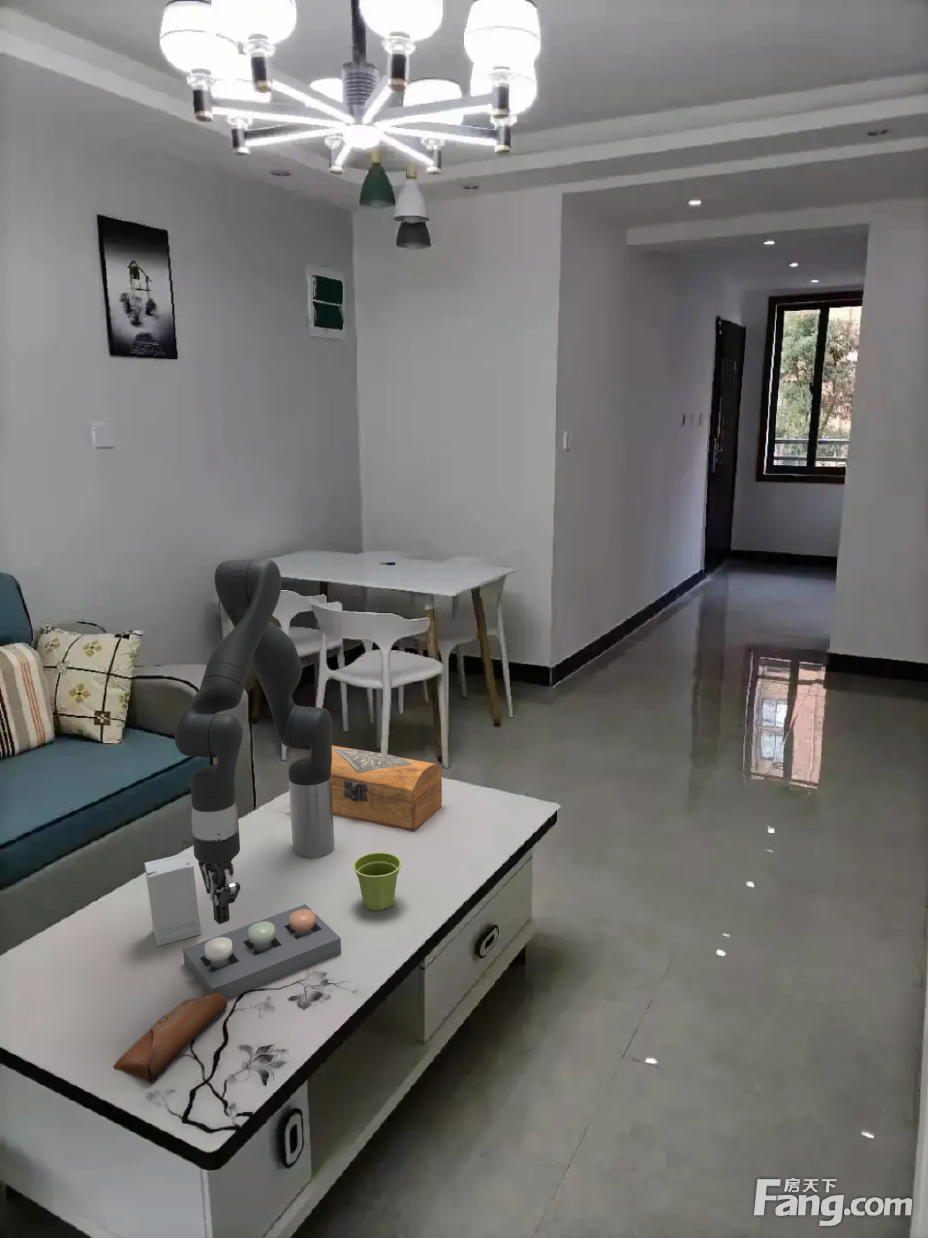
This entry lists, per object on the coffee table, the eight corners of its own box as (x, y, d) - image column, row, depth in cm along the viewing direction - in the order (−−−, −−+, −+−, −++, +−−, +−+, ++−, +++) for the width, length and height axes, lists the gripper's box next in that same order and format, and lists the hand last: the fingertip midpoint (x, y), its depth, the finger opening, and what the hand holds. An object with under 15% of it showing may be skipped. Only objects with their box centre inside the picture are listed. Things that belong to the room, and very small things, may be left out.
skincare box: (196, 920, 171) (190, 850, 168) (201, 936, 166) (195, 864, 162) (150, 931, 168) (143, 860, 164) (154, 948, 162) (147, 875, 159)
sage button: (245, 949, 159) (244, 927, 158) (269, 940, 162) (268, 918, 161) (256, 961, 156) (254, 939, 155) (280, 952, 158) (278, 930, 157)
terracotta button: (286, 936, 164) (285, 915, 163) (308, 927, 167) (307, 906, 166) (297, 948, 160) (296, 926, 159) (320, 939, 163) (319, 917, 162)
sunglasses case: (186, 996, 149) (200, 971, 146) (218, 1023, 148) (232, 999, 145) (108, 1069, 133) (122, 1043, 130) (142, 1101, 131) (157, 1074, 129)
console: (184, 963, 158) (182, 948, 157) (306, 918, 172) (305, 904, 171) (213, 1005, 147) (212, 989, 146) (341, 952, 161) (340, 938, 160)
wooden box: (303, 812, 217) (300, 759, 214) (340, 786, 231) (338, 736, 228) (411, 836, 204) (409, 780, 201) (443, 807, 219) (442, 755, 216)
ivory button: (202, 965, 155) (200, 943, 154) (227, 956, 157) (225, 934, 156) (212, 979, 151) (210, 956, 150) (237, 969, 154) (236, 946, 153)
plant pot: (395, 918, 171) (393, 878, 169) (348, 913, 173) (346, 873, 171) (407, 893, 180) (406, 854, 178) (363, 888, 182) (361, 850, 180)
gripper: (179, 820, 151) (186, 912, 155) (209, 849, 141) (216, 946, 145) (221, 808, 156) (227, 898, 159) (253, 836, 145) (258, 931, 149)
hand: (222, 921), depth 152 cm, fingers closed
